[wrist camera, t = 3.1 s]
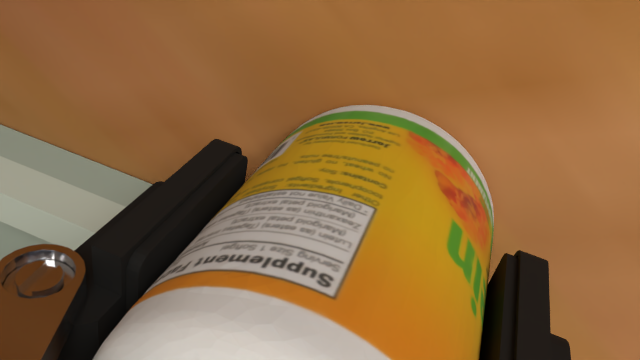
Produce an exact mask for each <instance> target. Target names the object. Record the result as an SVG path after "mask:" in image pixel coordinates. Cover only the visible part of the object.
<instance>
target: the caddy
mask: <svg viewBox="0 0 640 360" xmlns="http://www.w3.org/2000/svg"><path fill="white" fill-rule="evenodd" d="M151 185H153V184H150V183H148V182H145V181H143V180H140V179H137V178H135V177H132V176H130V175H127V174H125V173H122V172H120V171H117V170H115V169H112V168H109V167H107V166H104V165H102V164H99V163H97V162H94V161H92V160H89V159H87V158H84V157H82V156H79V155H76V154H74V153H71V152H69V151H66V150H64V149H61V148H59V147H56V146H54V145H51V144H48V143H46V142H43V141H41V140H38V139H36V138H33V137H31V136H28V135H26V134H23V133H20V132H18V131H15V130H13V129H10V128H8V127H5V126H3V125H0V260H1V259H2V258H3V257H5V256H7V255H8V254H10V253H12V252H13V251H15V250H18V249H21V248H24V247H27V246H31V245H38V244H57V245H61V246H64V247H68V248H70V249H72V250H73V251H74V250H76V249H77V248H78V247H79V246H80V245H82V244H83V243H84V242H85V241H86V240H88V239H89V238H90V237H91V236H92V235H93V234H95V233H96V232H97V231H98V230H99V229H101V228H102V227H103V226H104V225H105V224H106V223H108V222H109V221H110V220H111V219H112V218H114V217H115V216H116V215H117V214H118V213H119V212H121V211H122V210H123V209H124V208H125V207H127V206H128V205H129V204H130V203H131V202H133V201H134V200H135V199H136V198H137V197H138V196H140V195H141V194H142V193H143V192H144V191H146V190H147V189H148V188H149V187H150V186H151Z"/></svg>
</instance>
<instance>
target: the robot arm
mask: <svg viewBox="0 0 640 360" xmlns="http://www.w3.org/2000/svg"><path fill="white" fill-rule="evenodd" d="M247 162H248V160H247V157H246V156H243V155H242V151H241V148H240V147H238V146H235V145H232V144H230V143H227V142H224V141H221V140H219V139H214V140H213V141H211V142H210V143H209V144H208V145H207V146H206V147H204V148H203V149H202V150H201V151H200V152H199V153H198V154H196V155H195V156H194V157H193V158H192V159H191V160H189V161H188V162H187V163H186V164H185V165H184V166H182V167H181V168H180V169H179V170H178V171H177V172H176V173H174V174H173V175H172V176H171V177H170V178H169V179H167V180H166V181H165V182H162V181H161V182H156V183H155V184H153V185H151V186H150V187H149V188H148V189H147V190H146V191H144V192H143V193H142V194H141V195H140V196H138V197H137V198H136V199H135V200H134V201H133V202H131V203H130V204H129V205H128V206H127V207H125V208H124V209H123V210H122V211H121V212H119V213H118V214H117V215H116V216H115V217H114V218H112V219H111V220H110V221H109V222H108V223H106V224H105V225H104V226H103V227H102V228H101V229H99V230H98V231H97V232H96V233H95V234H93V235H92V236H91V237H90V238H89V239H88V240H86V241H85V242H84V243H83V244H82V245H80V246H79V247H78V248H77V249H76V250H74V251H73V250H72V249H70V248H68V247H64V246H61V245H57V244H38V245H31V246H27V247H24V248H21V249H18V250H15V251H13V252H12V253H10V254H8V255H7V256H5V257H3V258H2V259H1V260H0V360H93V358H94V356H95V355H96V353H97V351H98V350H99V348H100V346H101V345H102V343H103V342H104V341H105V339H106V338H107V337H108V336H109V334H110V333H111V332H112V331H113V329H114V328H115V327H116V326H117V325H118V323H119V322H120V321H121V320H122V318H123V317H124V316H125V315H126V313H127V312H128V311H129V310H130V309H131V307H132V306H133V305H134V304H135V303H136V302H137V301H138V300H139V299H140V298H141V297H142V296H143V295H144V293H145V292H146V291H147V290H148V289H149V288H150V287H151V285H152V284H153V283H154V282H155V281H156V280H157V279H158V278H159V277H160V276H161V275H162V274H163V273H164V271H165V270H166V269H167V268H168V267H169V266H170V265H171V264H172V263H173V262H174V261H175V260H176V259H177V257H178V256H179V255H180V254H181V253H182V252H183V251H184V250H185V249H186V248H187V246H188V245H189V244H190V243H191V242H192V241H193V240H194V239H195V238H196V237H197V235H198V234H199V233H200V232H201V231H202V229H203V228H204V227H205V226H206V225H207V224H208V223H209V222H210V220H211V219H212V218H213V217H214V216H215V215H216V214H217V213H218V212H219V211H220V210H221V209H222V208H223V207H224V206H225V204H226V203H227V202H228V201H229V200H230V199H231V198H232V197H233V195H234V194H235V193H236V192H237V191H238V190H239V189H240V188H241V187H242V185H243V184H244V183H245V176H246V169H247ZM479 360H571V355H570V347H569V343H568V341H567V340H566V339H564V338H561V337H559V336H556V335H553V334H551V333H550V302H549V268H548V261H547V260H544V259H542V258H539V257H536V256H534V255H531V254H528V253H525V252H523V251H520V250H519V251H517V252H516V253H515V255H514V256H513V255H510V254H507V253H506V254H504V256H503V257H502V259H501V261H500V263H499V265H498V267H497V268H496V270H495V272H494V274H493V276H492V278H491V280H490V282H489V284H488V286H487V294H486V303H485V312H484V320H483V331H482V336H481V347H480V354H479Z"/></svg>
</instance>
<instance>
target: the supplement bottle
mask: <svg viewBox="0 0 640 360" xmlns="http://www.w3.org/2000/svg"><path fill="white" fill-rule="evenodd" d="M493 229H494V214H493V204H492V199H491V195H490V192H489V189H488V186H487V183H486V181H485V178H484V176H483V175H482V173H481V171H480V169H479V167H478V166H477V164H476V163H475V161H474V160H473V158H472V157H471V156H470V154H469V153H468V152H467V151H466V150H465V148H464V147H463V146H462V145H461V144H460V143H459V142H458V141H457V140H455V139H454V138H453V137H452V136H451V135H450V134H448V133H447V132H446V131H444V130H443V129H442V128H440V127H438V126H437V125H435V124H433V123H432V122H430V121H428V120H426V119H424V118H422V117H420V116H417V115H415V114H412V113H409V112H407V111H403V110H399V109H395V108H390V107H385V106H376V105H353V106H346V107H341V108H336V109H333V110H330V111H327V112H324V113H322V114H320V115H318V116H316V117H314V118H312V119H310V120H308V121H307V122H305V123H303V124H302V125H301V126H299V127H298V128H297V129H296V130H295V131H293V132H292V133H291V134H290V135H289V136H288V137H287V138H286V139H285V140H284V141H283V142H282V143H281V144H280V145H279V146H278V147H277V148H276V149H275V150H274V151H273V152H272V153H271V154H270V156H269V157H268V158H267V159H266V160H265V161H264V162H263V163H262V164H261V166H260V167H259V168H258V169H257V170H256V171H255V172H254V173H253V174H252V176H251V177H250V178H249V179H248V180H247V181H246V182H245V183H244V184H243V185H242V187H241V188H240V189H239V190H238V191H237V192H236V193H235V194H234V195H233V197H232V198H231V199H230V200H229V201H228V202H227V203H226V204H225V206H224V207H223V208H222V209H221V210H220V211H219V212H218V213H217V214H216V215H215V216H214V217H213V218H212V219H211V220H210V222H209V223H208V224H207V225H206V226H205V227H204V228H203V229H202V231H201V232H200V233H199V234H198V235H197V237H196V238H195V239H194V240H193V241H192V242H191V243H190V244H189V245H188V246H187V248H186V249H185V250H184V251H183V252H182V253H181V254H180V255H179V256H178V257H177V259H176V260H175V261H174V262H173V263H172V264H171V265H170V266H169V267H168V268H167V269H166V270H165V271H164V273H163V274H162V275H161V276H160V277H159V278H158V279H157V280H156V281H155V282H154V283H153V284H152V285H151V287H150V288H149V289H148V290H147V291H146V292H145V293H144V295H143V296H142V297H141V298H140V299H139V300H138V301H137V302H136V303H135V304H134V305H133V306H132V307H131V309H130V310H129V311H128V312H127V313H126V315H125V316H124V317H123V318H122V320H121V321H120V322H119V323H118V325H117V326H116V327H115V328H114V329H113V331H112V332H111V333H110V334H109V336H108V337H107V338H106V339H105V341H104V342H103V343H102V345H101V346H100V348H99V350H98V351H97V353H96V355H95V356H94V358H93V360H479V354H480V347H481V336H482V331H483V320H484V312H485V303H486V294H487V286H488V277H489V268H490V259H491V251H492V242H493Z"/></svg>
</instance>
